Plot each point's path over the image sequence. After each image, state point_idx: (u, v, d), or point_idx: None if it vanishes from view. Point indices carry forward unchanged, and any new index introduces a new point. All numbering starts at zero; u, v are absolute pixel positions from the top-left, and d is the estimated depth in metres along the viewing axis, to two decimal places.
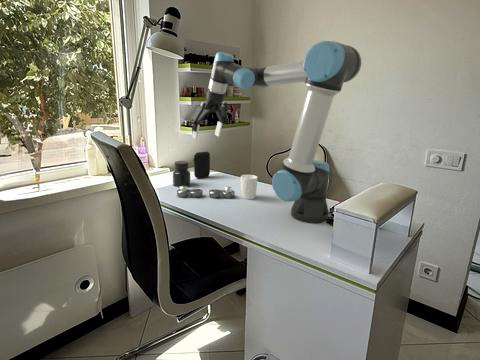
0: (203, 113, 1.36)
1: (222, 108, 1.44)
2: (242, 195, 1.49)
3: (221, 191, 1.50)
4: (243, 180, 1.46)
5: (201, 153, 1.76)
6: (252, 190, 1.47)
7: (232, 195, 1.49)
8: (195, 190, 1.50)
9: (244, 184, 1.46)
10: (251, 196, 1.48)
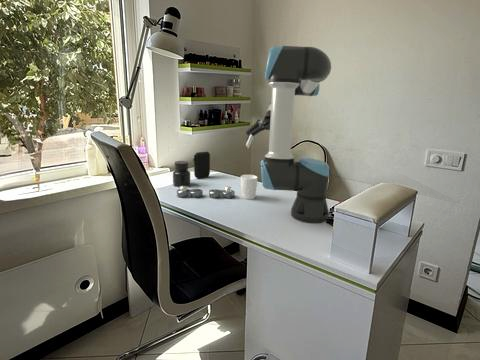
0: None
1: None
2: (242, 195, 1.49)
3: (221, 191, 1.50)
4: (243, 180, 1.46)
5: (201, 153, 1.76)
6: (252, 190, 1.47)
7: (232, 195, 1.49)
8: (195, 190, 1.50)
9: (244, 184, 1.46)
10: (251, 196, 1.48)
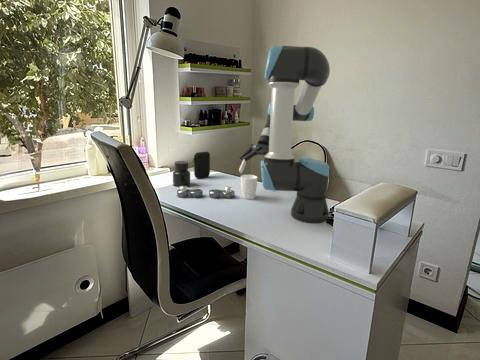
0: None
1: None
2: (242, 195, 1.49)
3: (221, 191, 1.50)
4: (243, 180, 1.46)
5: (201, 153, 1.76)
6: (252, 190, 1.47)
7: (232, 195, 1.49)
8: (195, 190, 1.50)
9: (244, 184, 1.46)
10: (251, 196, 1.48)
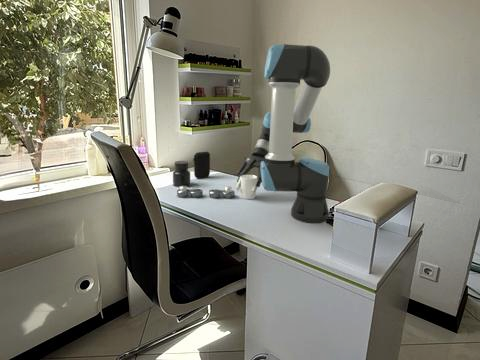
0: None
1: None
2: (242, 195, 1.49)
3: (221, 191, 1.50)
4: (243, 180, 1.46)
5: (201, 153, 1.76)
6: None
7: (232, 195, 1.49)
8: (195, 190, 1.50)
9: (244, 184, 1.46)
10: (251, 196, 1.48)
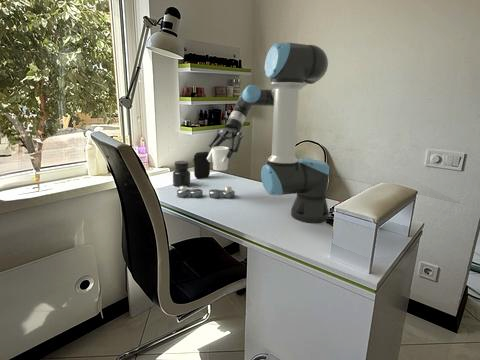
0: None
1: None
2: (213, 167, 1.48)
3: (221, 191, 1.50)
4: (213, 151, 1.44)
5: (201, 153, 1.76)
6: None
7: (232, 195, 1.49)
8: (195, 190, 1.50)
9: (215, 155, 1.45)
10: (222, 167, 1.46)
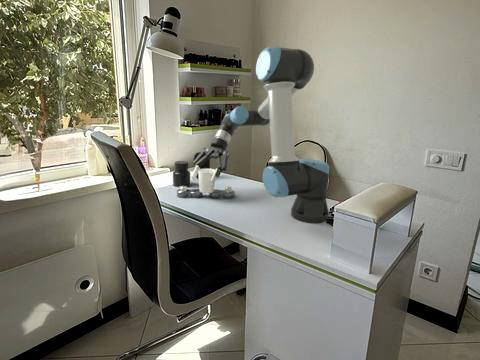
0: None
1: None
2: (200, 189, 1.48)
3: (221, 191, 1.50)
4: (200, 174, 1.45)
5: None
6: (209, 184, 1.46)
7: (232, 195, 1.49)
8: (195, 190, 1.50)
9: (201, 178, 1.45)
10: (209, 190, 1.47)
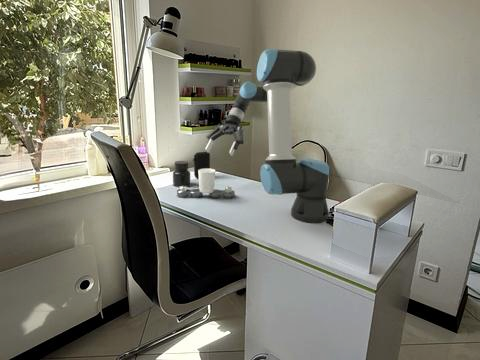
0: None
1: None
2: (200, 189, 1.48)
3: (221, 191, 1.50)
4: (200, 174, 1.45)
5: (201, 153, 1.76)
6: (209, 184, 1.46)
7: (232, 195, 1.49)
8: (195, 190, 1.50)
9: (201, 178, 1.45)
10: (209, 190, 1.47)
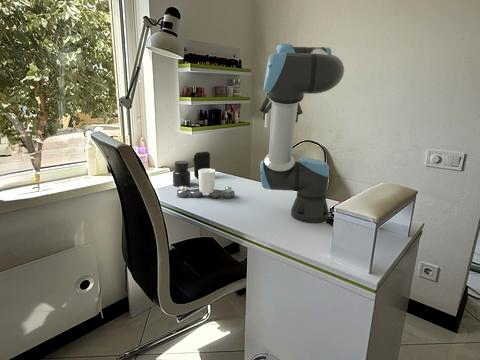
0: None
1: None
2: (200, 189, 1.48)
3: (221, 191, 1.50)
4: (200, 174, 1.45)
5: (201, 153, 1.76)
6: (209, 184, 1.46)
7: (232, 195, 1.49)
8: (195, 190, 1.50)
9: (201, 178, 1.45)
10: (209, 190, 1.47)
